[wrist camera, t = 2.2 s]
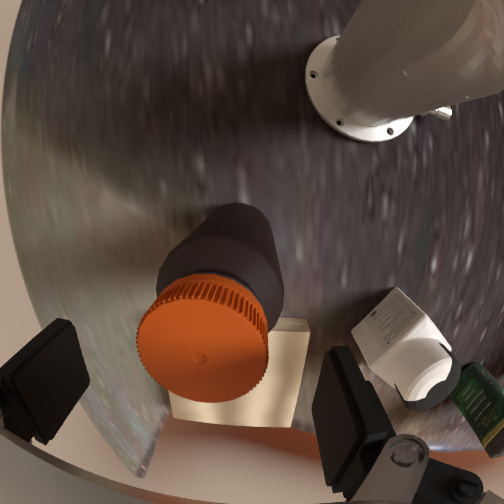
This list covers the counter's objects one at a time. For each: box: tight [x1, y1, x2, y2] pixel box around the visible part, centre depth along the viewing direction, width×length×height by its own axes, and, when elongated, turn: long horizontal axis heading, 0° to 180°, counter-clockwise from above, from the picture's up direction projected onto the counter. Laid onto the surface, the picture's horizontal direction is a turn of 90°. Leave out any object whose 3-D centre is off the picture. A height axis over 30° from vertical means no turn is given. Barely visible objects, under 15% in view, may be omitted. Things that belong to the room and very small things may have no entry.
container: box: [351, 287, 461, 411], centre depth 25 cm, size 8×8×13 cm
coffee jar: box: [449, 363, 504, 458], centre depth 25 cm, size 10×8×19 cm
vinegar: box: [136, 203, 284, 403], centre depth 19 cm, size 7×7×20 cm
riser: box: [168, 317, 310, 427], centre depth 32 cm, size 16×16×3 cm
